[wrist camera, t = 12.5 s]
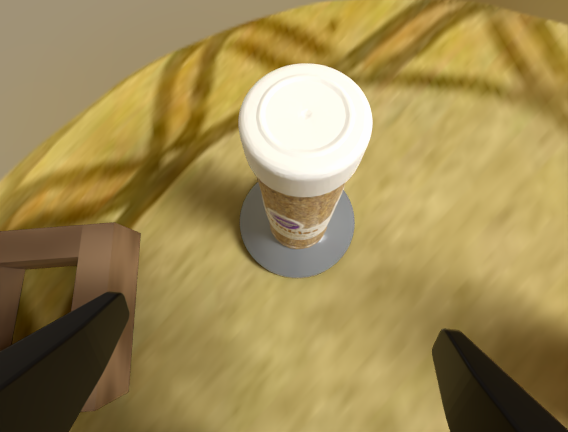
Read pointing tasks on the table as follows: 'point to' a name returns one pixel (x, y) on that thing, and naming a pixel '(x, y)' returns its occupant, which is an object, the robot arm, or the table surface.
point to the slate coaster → (290, 259)
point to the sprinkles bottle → (303, 145)
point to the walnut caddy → (76, 283)
